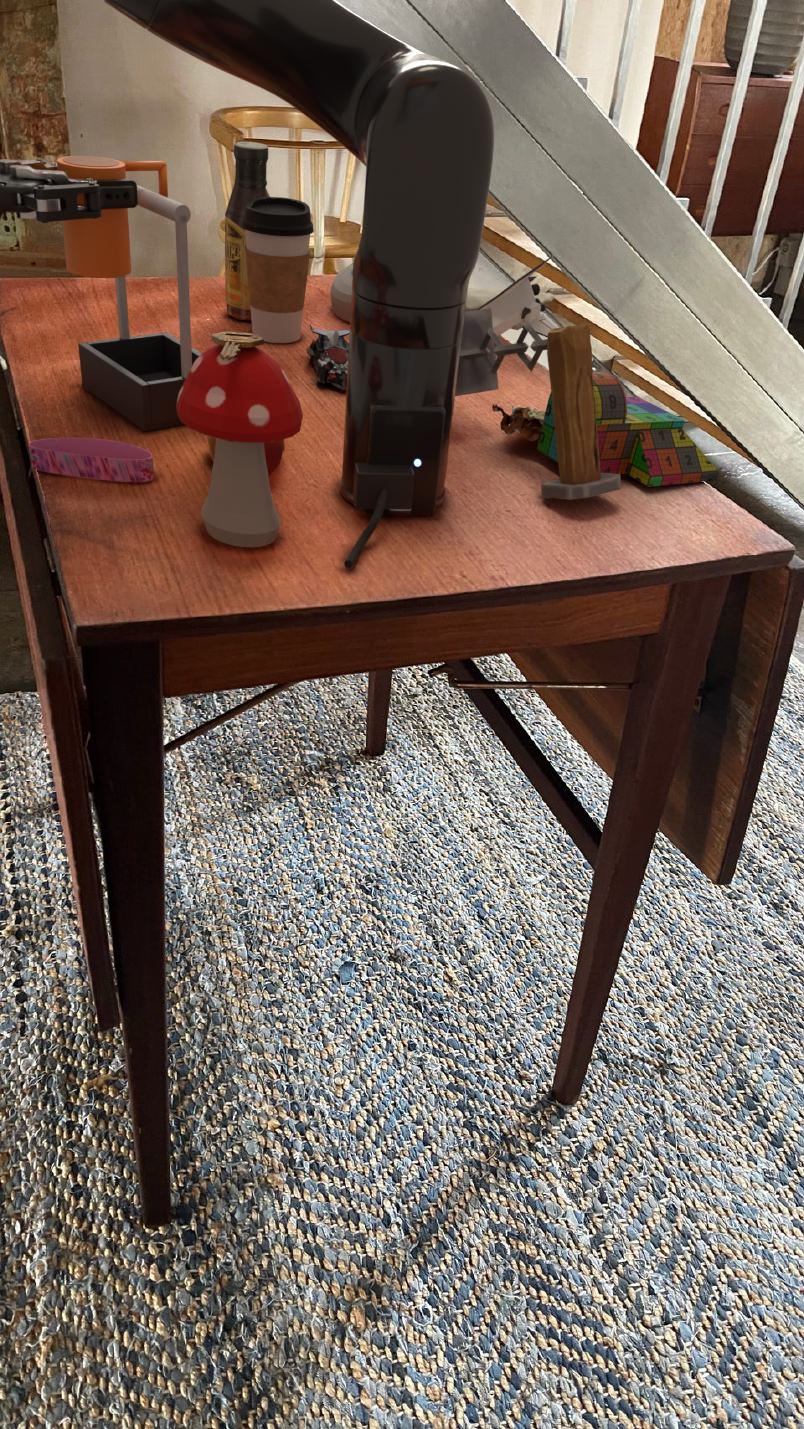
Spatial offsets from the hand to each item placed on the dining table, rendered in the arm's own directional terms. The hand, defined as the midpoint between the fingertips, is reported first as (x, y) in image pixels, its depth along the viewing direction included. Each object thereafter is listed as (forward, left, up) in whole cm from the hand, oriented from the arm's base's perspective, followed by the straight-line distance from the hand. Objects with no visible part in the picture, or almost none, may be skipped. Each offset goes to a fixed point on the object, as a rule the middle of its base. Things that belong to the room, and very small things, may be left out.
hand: (118, 186), depth 92 cm
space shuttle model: (+24, -40, -15) cm, 49 cm away
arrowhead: (+39, -31, -19) cm, 53 cm away
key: (-31, -10, -5) cm, 33 cm away
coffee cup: (+25, -16, -20) cm, 36 cm away
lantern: (-9, -34, -20) cm, 41 cm away
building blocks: (-14, -48, -20) cm, 54 cm away
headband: (-16, +3, -16) cm, 23 cm away
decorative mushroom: (-29, -10, -20) cm, 37 cm away
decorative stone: (+37, -33, -18) cm, 53 cm away
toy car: (+11, -22, -20) cm, 32 cm away
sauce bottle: (+33, -13, -20) cm, 41 cm away
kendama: (-12, -11, -20) cm, 26 cm away
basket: (+1, -2, -20) cm, 20 cm away
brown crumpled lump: (-6, -40, -15) cm, 43 cm away
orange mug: (0, 0, -7) cm, 7 cm away
